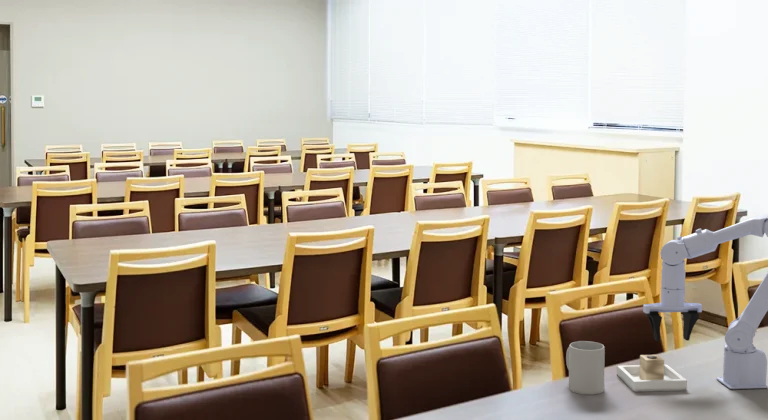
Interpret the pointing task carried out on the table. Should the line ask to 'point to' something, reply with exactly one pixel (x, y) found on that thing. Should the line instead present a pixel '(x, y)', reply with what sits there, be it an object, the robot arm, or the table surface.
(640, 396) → the table surface
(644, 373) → the bore block
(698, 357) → the table surface
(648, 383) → the tray
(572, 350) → the mug
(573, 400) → the table surface
